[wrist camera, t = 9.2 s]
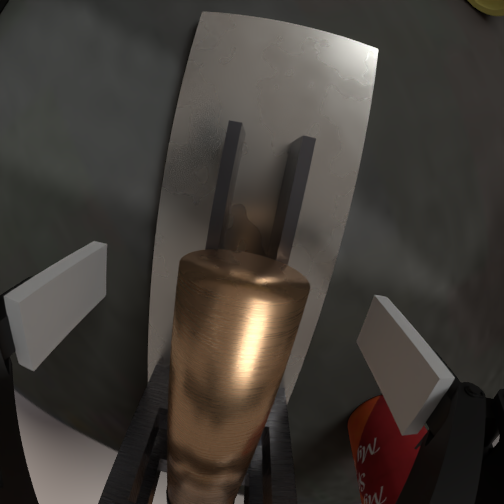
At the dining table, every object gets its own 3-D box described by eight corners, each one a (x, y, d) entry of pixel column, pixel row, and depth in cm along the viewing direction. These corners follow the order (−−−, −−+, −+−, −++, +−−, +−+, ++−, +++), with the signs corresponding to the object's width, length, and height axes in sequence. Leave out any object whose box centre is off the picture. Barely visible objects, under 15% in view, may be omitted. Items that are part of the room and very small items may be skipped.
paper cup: (322, 410, 21) (357, 571, 7) (411, 367, 19) (493, 508, 6) (348, 452, 22) (377, 574, 9) (421, 418, 21) (476, 530, 8)
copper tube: (191, 241, 12) (158, 284, 8) (301, 262, 12) (325, 315, 8) (172, 483, 18) (162, 528, 13) (229, 493, 18) (225, 538, 13)
